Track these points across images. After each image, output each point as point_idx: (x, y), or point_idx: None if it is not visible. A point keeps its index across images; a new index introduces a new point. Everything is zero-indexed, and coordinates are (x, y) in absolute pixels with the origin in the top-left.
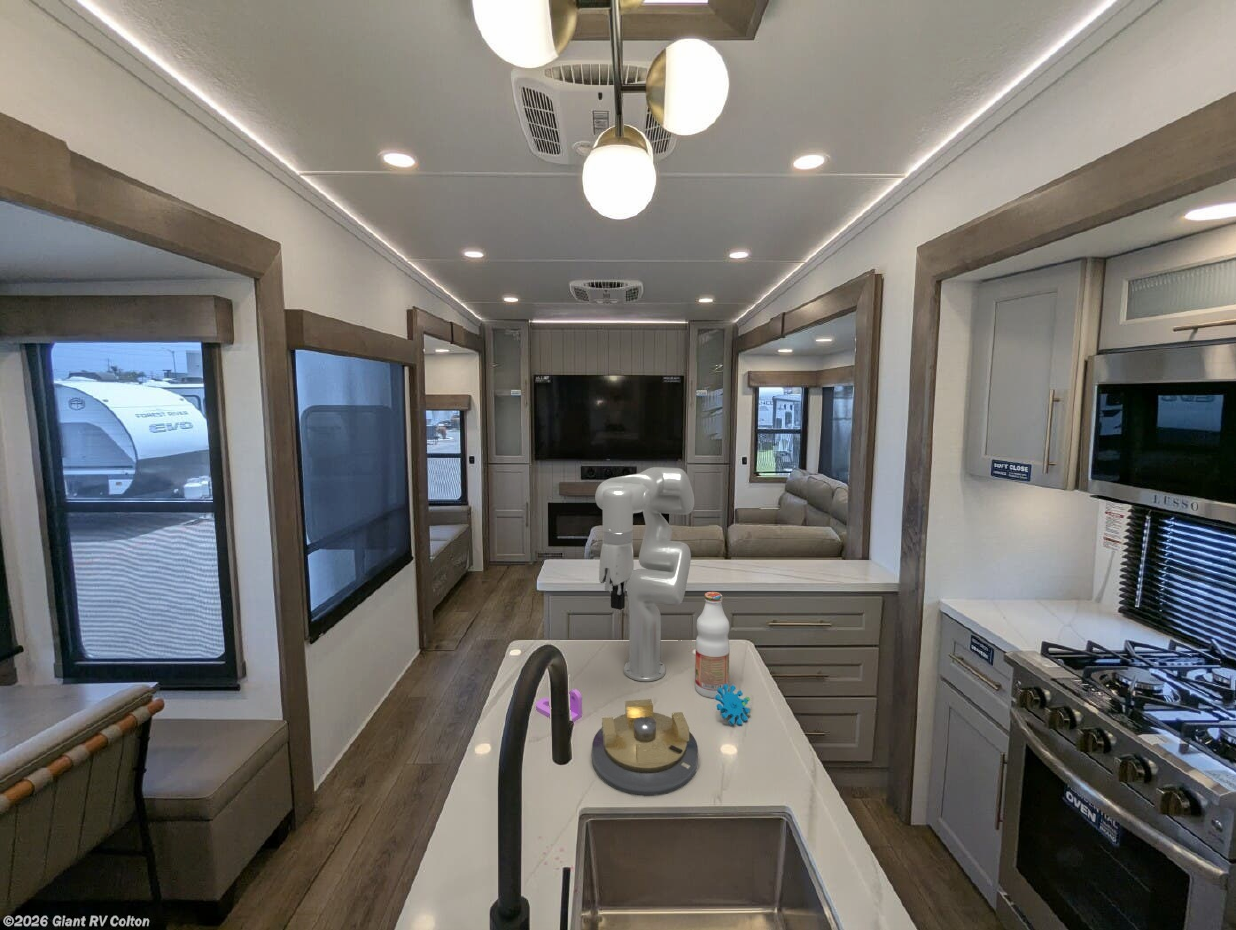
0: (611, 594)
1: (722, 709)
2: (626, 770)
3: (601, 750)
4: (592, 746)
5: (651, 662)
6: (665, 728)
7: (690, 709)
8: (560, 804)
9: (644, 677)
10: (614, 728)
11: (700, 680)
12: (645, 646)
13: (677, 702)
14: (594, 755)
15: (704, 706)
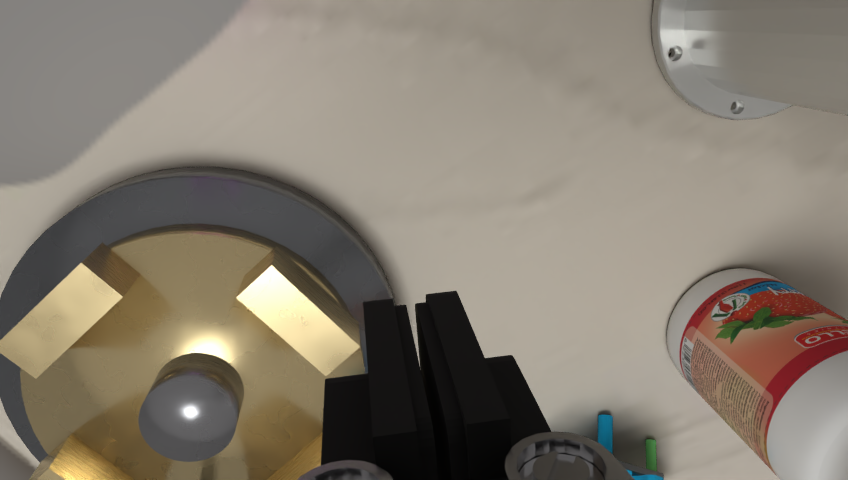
0: (373, 426)
1: (599, 429)
2: None
3: (61, 269)
4: (52, 226)
5: (746, 88)
6: (289, 424)
7: (561, 327)
8: None
9: (673, 66)
10: (61, 351)
11: (700, 340)
12: (789, 70)
13: (579, 267)
14: (17, 267)
15: (605, 356)
